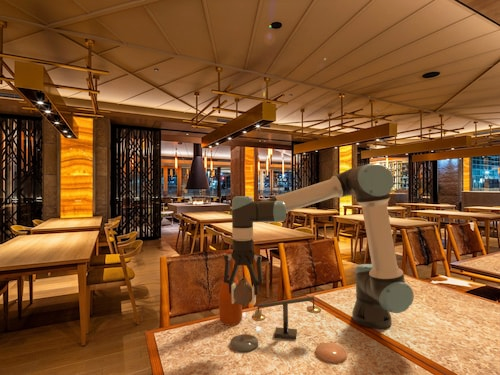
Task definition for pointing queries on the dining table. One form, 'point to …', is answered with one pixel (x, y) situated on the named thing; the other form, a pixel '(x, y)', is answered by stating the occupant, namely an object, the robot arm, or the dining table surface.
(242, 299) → the vase
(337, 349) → the dish
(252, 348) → the dish
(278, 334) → the balance
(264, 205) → the robot arm
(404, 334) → the dining table surface
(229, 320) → the wine bottle
